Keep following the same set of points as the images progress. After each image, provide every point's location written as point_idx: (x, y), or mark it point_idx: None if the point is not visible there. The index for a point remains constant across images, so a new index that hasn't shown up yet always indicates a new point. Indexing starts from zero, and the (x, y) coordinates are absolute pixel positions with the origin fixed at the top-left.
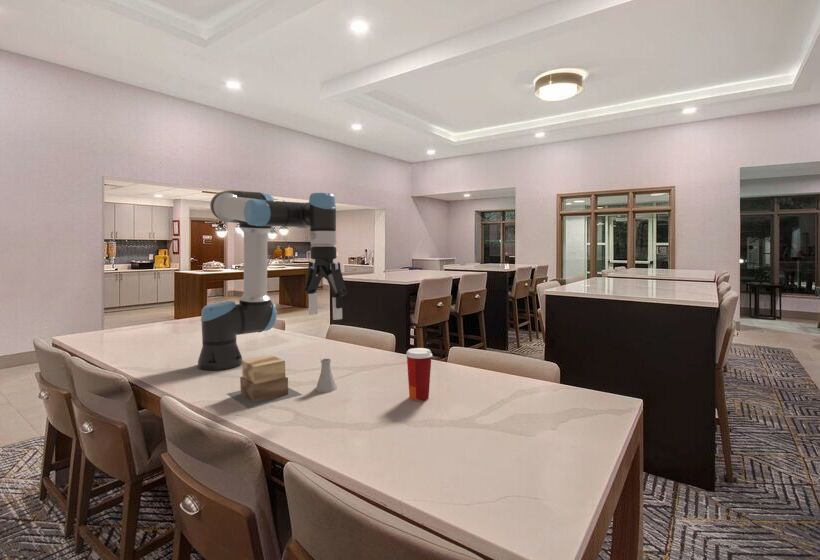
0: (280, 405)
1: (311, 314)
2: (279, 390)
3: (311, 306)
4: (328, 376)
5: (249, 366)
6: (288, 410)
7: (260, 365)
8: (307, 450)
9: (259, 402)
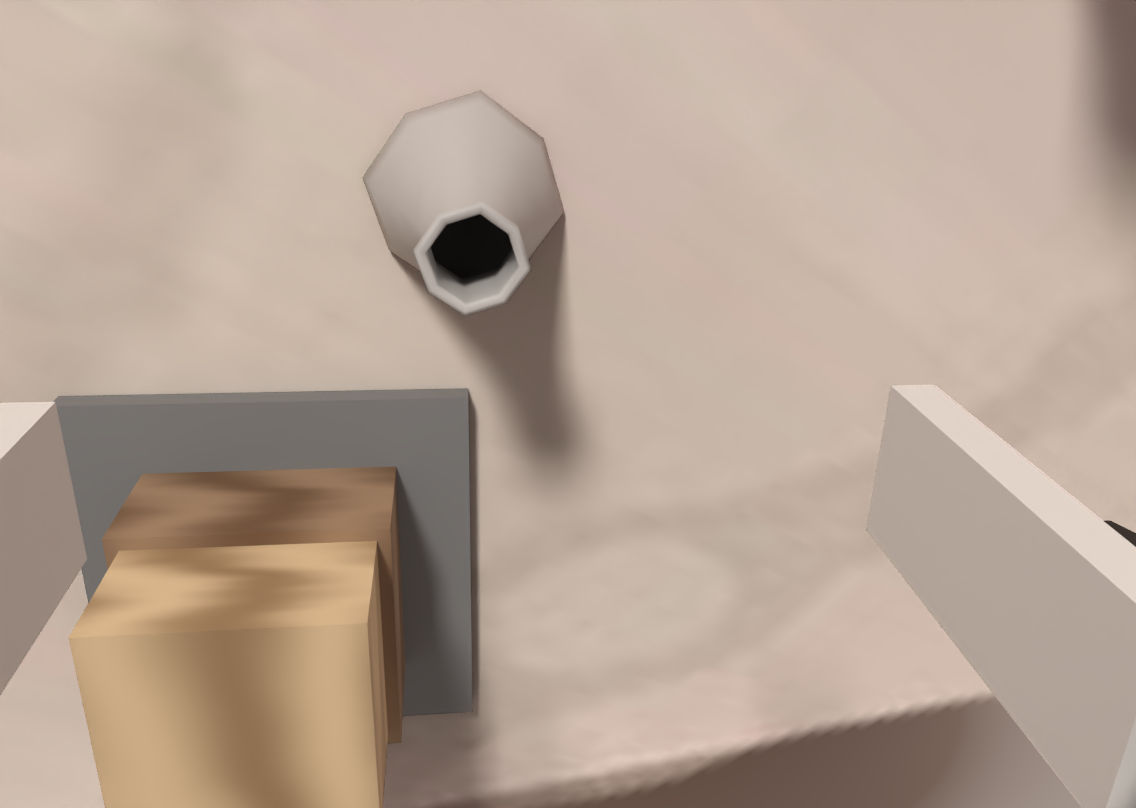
0: (494, 542)
1: (78, 534)
2: (397, 546)
3: (15, 631)
4: (527, 236)
5: None
6: (604, 540)
7: (375, 797)
8: None
9: (418, 643)
